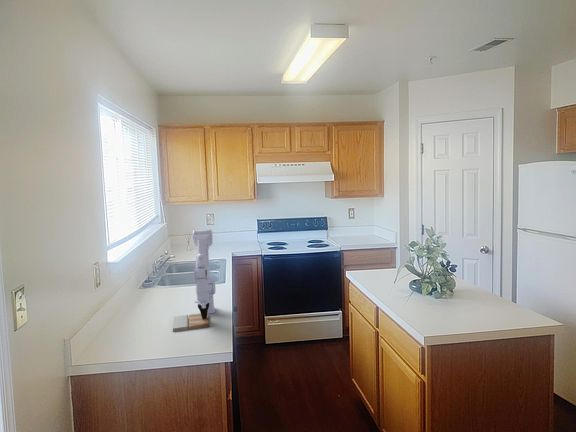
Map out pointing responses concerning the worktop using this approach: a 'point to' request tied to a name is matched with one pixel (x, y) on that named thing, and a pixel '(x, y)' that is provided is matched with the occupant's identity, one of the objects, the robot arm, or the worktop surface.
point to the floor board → (180, 323)
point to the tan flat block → (198, 321)
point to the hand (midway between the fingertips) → (204, 318)
